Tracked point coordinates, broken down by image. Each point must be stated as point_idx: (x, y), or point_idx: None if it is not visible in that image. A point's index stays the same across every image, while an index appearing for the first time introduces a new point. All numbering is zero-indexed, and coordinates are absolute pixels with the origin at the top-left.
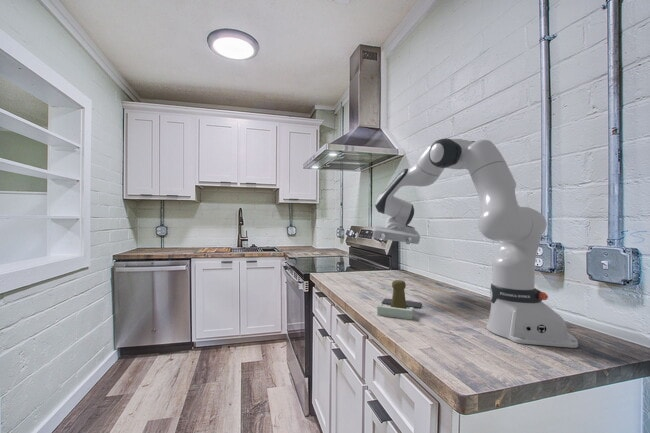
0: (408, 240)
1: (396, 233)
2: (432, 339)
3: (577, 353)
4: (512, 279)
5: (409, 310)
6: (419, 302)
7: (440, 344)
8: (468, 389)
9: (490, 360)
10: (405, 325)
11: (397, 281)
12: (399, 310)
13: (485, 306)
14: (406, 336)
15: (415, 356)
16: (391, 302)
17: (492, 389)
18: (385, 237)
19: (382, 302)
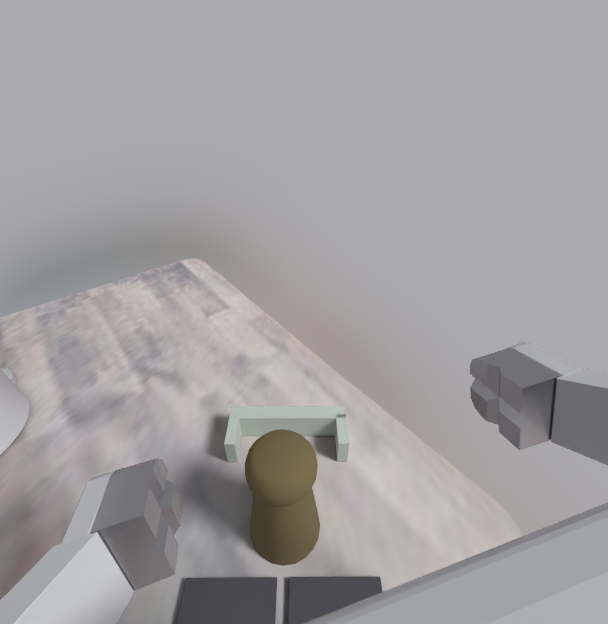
0: (127, 468)
1: (438, 577)
2: (198, 339)
3: None
4: None
5: (238, 408)
6: None
7: (188, 327)
8: (186, 262)
9: (124, 309)
10: (252, 381)
11: (285, 435)
12: (270, 408)
13: None
14: (249, 335)
15: (236, 290)
16: (333, 606)
17: (160, 267)
18: (501, 353)
19: (376, 581)
